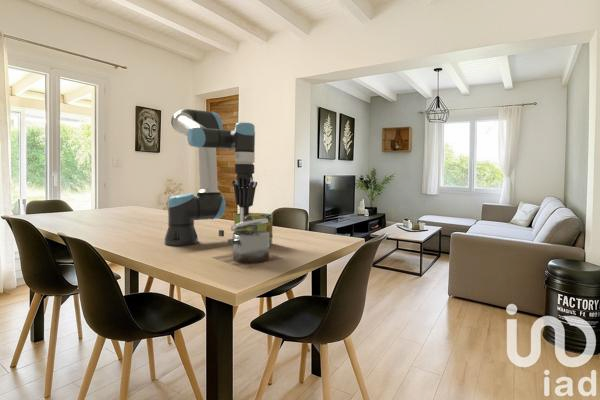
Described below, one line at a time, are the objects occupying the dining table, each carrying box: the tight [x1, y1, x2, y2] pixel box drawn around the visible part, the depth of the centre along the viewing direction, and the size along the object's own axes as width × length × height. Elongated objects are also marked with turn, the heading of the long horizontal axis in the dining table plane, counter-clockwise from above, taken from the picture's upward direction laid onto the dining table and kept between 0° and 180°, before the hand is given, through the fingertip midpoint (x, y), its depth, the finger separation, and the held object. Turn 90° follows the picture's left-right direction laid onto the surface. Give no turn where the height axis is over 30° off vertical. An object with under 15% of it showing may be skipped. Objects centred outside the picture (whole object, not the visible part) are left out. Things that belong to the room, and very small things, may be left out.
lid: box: [230, 216, 268, 232], centre depth 129 cm, size 15×14×4 cm
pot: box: [218, 226, 273, 264], centre depth 129 cm, size 16×19×11 cm
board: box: [211, 252, 284, 269], centre depth 130 cm, size 20×20×1 cm
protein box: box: [233, 212, 274, 246], centre depth 153 cm, size 10×15×16 cm
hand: (244, 223), depth 130 cm, fingers closed
